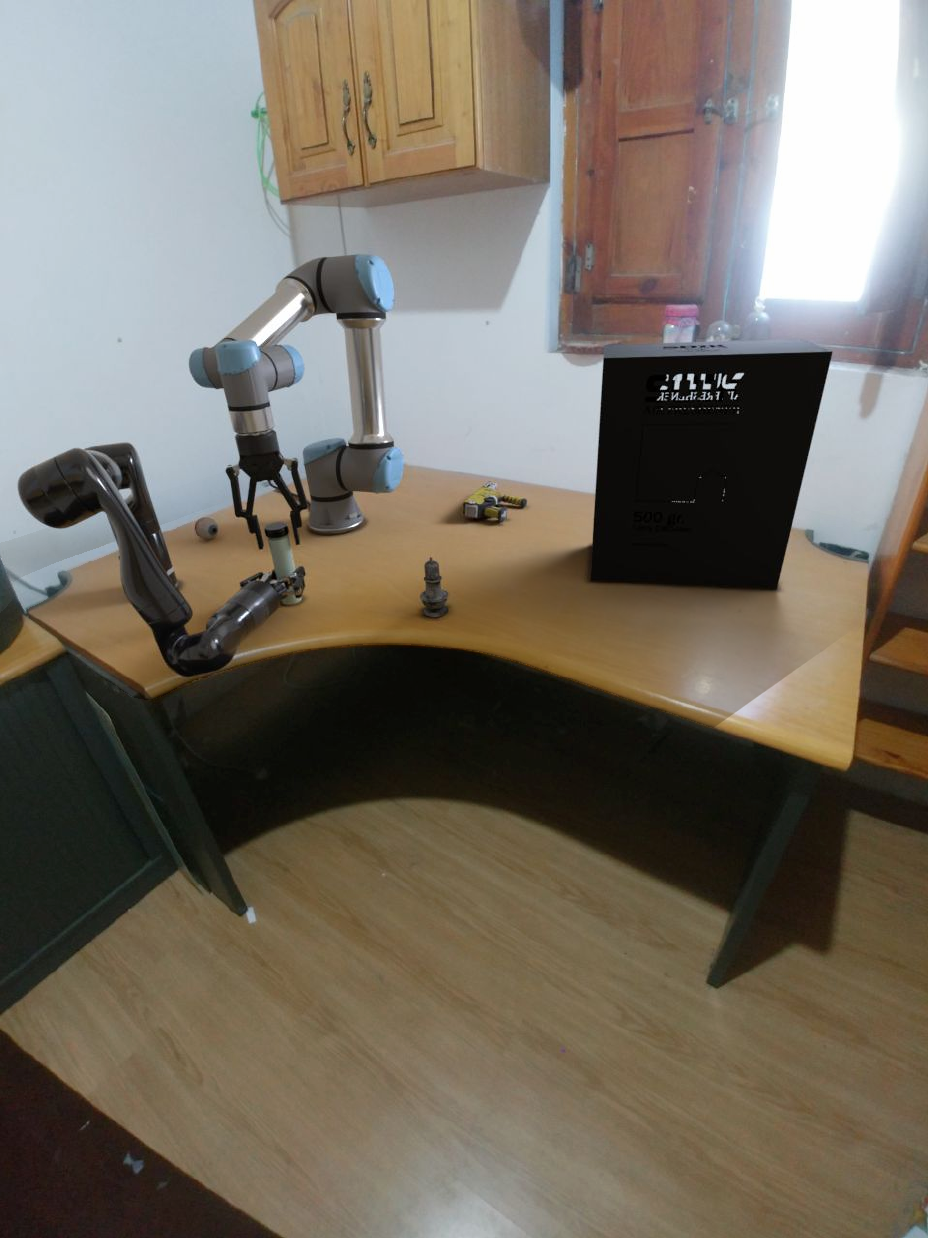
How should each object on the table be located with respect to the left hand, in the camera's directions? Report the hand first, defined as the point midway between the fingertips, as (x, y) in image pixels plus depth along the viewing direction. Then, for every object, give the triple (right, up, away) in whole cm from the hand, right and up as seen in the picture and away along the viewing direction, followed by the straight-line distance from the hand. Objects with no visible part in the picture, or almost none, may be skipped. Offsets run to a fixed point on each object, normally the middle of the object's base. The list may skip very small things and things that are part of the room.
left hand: (292, 569), depth 130 cm
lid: (-1, +8, -8) cm, 11 cm away
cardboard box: (+85, +1, +6) cm, 85 cm away
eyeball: (-32, +11, +35) cm, 49 cm away
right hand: (-1, +5, -6) cm, 8 cm away
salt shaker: (+31, -9, -7) cm, 33 cm away
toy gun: (+47, +21, +44) cm, 68 cm away
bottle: (0, -7, +1) cm, 7 cm away
